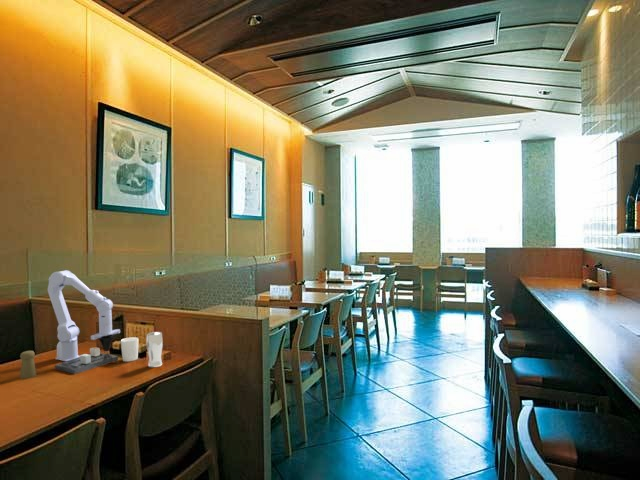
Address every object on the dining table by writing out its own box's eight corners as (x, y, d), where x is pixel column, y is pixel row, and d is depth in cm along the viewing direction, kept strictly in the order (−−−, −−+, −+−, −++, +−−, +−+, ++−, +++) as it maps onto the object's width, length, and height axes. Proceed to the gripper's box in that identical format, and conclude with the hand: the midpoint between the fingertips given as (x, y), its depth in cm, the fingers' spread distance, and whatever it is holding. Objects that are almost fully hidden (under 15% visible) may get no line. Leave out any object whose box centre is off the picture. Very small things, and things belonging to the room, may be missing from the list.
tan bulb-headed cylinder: (27, 379, 172) (26, 353, 172) (16, 378, 174) (15, 353, 173) (40, 374, 178) (39, 349, 178) (28, 373, 179) (27, 349, 179)
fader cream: (90, 355, 197) (89, 348, 197) (94, 354, 199) (94, 346, 199) (95, 356, 195) (94, 348, 195) (99, 355, 197) (99, 347, 197)
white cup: (134, 361, 193) (133, 341, 193) (118, 362, 193) (117, 341, 193) (141, 356, 201) (141, 337, 201) (126, 357, 201) (125, 337, 201)
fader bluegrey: (80, 362, 186) (80, 354, 186) (85, 361, 188) (85, 353, 188) (85, 364, 184) (85, 356, 184) (90, 362, 186) (90, 354, 186)
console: (55, 369, 184) (55, 363, 184) (98, 356, 203) (98, 350, 203) (74, 374, 177) (74, 367, 177) (117, 360, 196) (117, 354, 196)
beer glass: (166, 363, 190) (165, 331, 190) (158, 368, 183) (157, 335, 183) (152, 362, 191) (151, 331, 191) (144, 367, 184) (143, 335, 184)
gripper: (96, 327, 194) (97, 355, 194) (123, 321, 207) (124, 347, 207) (87, 326, 197) (88, 353, 197) (114, 320, 210) (115, 346, 210)
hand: (106, 350), depth 202 cm, fingers closed
